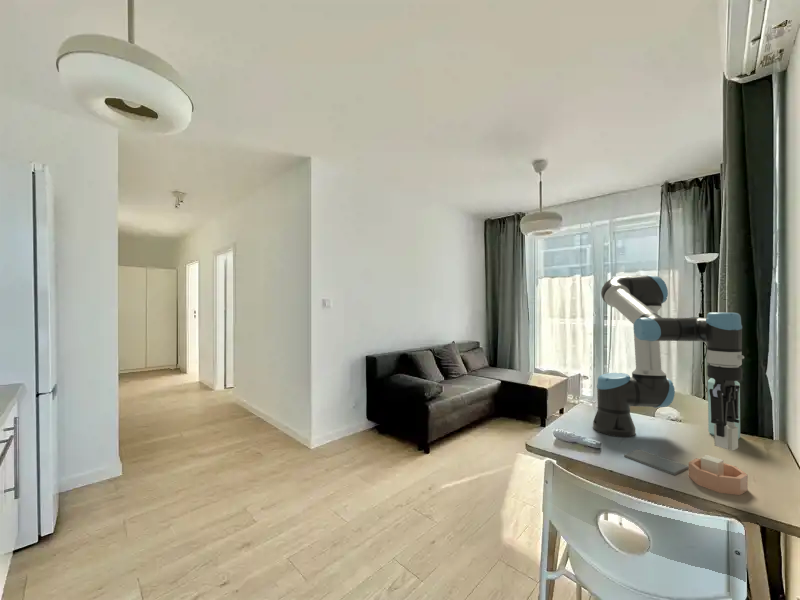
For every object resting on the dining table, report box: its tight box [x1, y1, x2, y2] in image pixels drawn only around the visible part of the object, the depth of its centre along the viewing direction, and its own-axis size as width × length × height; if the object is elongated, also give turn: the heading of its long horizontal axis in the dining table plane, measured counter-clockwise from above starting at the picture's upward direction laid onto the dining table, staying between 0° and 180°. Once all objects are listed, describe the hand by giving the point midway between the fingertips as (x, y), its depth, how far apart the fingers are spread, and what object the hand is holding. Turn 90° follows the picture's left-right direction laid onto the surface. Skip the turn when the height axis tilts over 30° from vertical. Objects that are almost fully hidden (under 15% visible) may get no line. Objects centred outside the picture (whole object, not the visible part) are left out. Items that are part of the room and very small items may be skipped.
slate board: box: [623, 448, 689, 476], centre depth 118 cm, size 15×9×1 cm, turn 29°
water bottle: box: [707, 377, 741, 440], centre depth 140 cm, size 10×10×25 cm
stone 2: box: [713, 425, 739, 451], centre depth 103 cm, size 4×4×6 cm
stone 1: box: [700, 454, 725, 476], centre depth 105 cm, size 4×4×6 cm
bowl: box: [688, 458, 749, 496], centre depth 105 cm, size 12×12×4 cm
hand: (725, 445), depth 103 cm, fingers closed on stone 2, 4 cm apart
